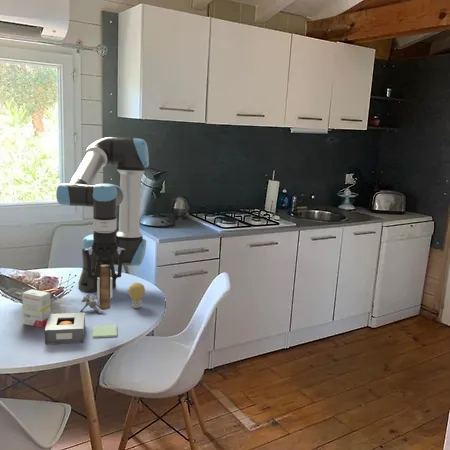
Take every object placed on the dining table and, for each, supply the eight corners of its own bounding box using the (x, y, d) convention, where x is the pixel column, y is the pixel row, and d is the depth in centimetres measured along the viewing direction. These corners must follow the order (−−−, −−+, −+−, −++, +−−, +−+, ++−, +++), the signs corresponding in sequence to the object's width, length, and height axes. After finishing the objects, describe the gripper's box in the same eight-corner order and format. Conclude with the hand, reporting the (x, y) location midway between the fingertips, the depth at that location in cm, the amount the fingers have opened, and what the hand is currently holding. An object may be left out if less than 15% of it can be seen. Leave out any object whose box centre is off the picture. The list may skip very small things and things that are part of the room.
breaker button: (60, 329, 168) (60, 321, 168) (72, 328, 169) (72, 320, 169) (59, 334, 165) (59, 326, 164) (71, 333, 166) (71, 325, 165)
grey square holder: (49, 327, 172) (49, 313, 171) (85, 325, 175) (84, 312, 174) (45, 344, 160) (44, 330, 158) (83, 342, 162) (83, 328, 161)
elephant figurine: (90, 318, 181) (73, 305, 184) (94, 324, 186) (78, 311, 189) (108, 298, 185) (91, 285, 188) (112, 303, 190) (95, 291, 193)
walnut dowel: (99, 305, 169) (99, 264, 166) (110, 305, 170) (110, 264, 167) (99, 309, 166) (99, 268, 163) (110, 309, 167) (110, 267, 164)
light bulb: (141, 311, 190) (141, 287, 187) (125, 309, 191) (126, 285, 189) (147, 305, 196) (147, 281, 193) (132, 303, 197) (132, 279, 195)
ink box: (52, 323, 175) (51, 292, 173) (42, 328, 171) (41, 296, 168) (32, 318, 178) (31, 288, 175) (22, 323, 173) (21, 292, 171)
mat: (93, 327, 174) (93, 326, 173) (116, 326, 175) (116, 324, 175) (92, 337, 166) (92, 336, 166) (116, 336, 168) (116, 334, 168)
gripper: (78, 233, 157) (79, 301, 162) (130, 233, 161) (129, 299, 166) (79, 227, 164) (80, 293, 169) (129, 227, 168) (129, 292, 173)
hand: (104, 296), depth 167 cm, fingers closed on walnut dowel, 3 cm apart
